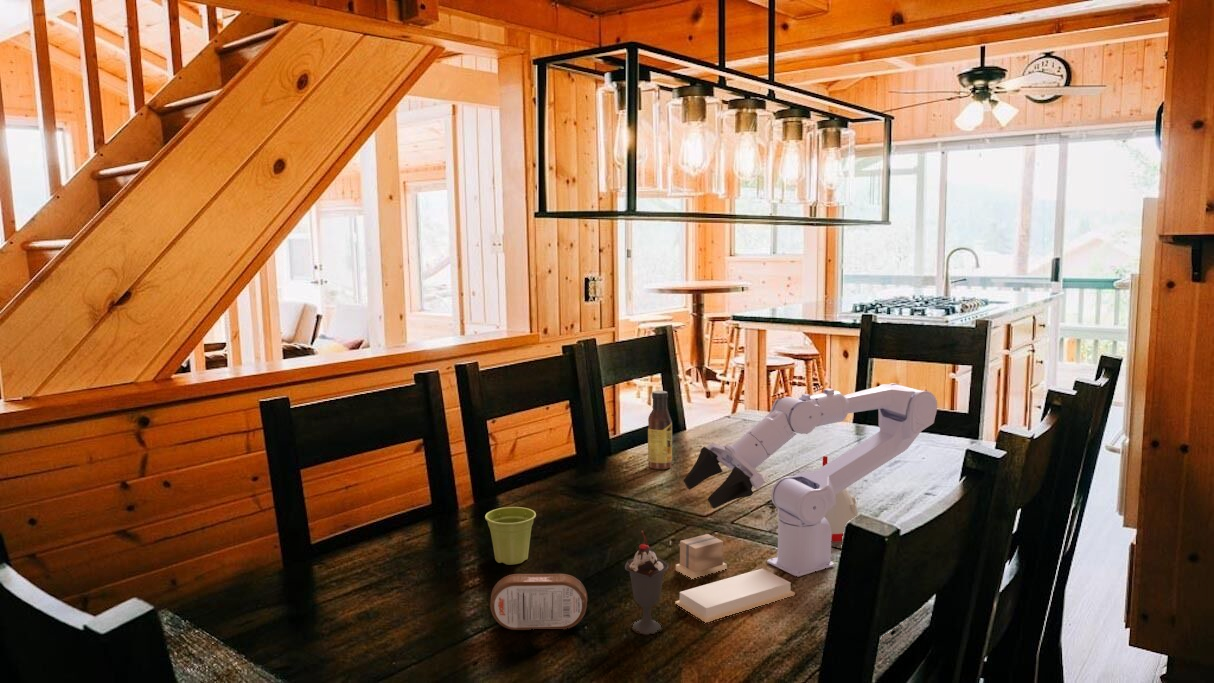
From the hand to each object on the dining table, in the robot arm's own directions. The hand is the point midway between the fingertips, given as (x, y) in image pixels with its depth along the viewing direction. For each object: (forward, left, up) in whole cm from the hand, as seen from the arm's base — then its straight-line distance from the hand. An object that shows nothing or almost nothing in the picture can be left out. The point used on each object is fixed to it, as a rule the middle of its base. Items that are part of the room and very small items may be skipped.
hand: (698, 494), depth 143 cm
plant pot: (+23, -27, -16) cm, 39 cm away
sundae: (+17, +9, -16) cm, 25 cm away
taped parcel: (-4, -4, -16) cm, 17 cm away
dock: (-1, +9, -16) cm, 18 cm away
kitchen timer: (-38, -7, -16) cm, 42 cm away
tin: (+31, 0, -16) cm, 35 cm away
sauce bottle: (-36, -62, -16) cm, 74 cm away
